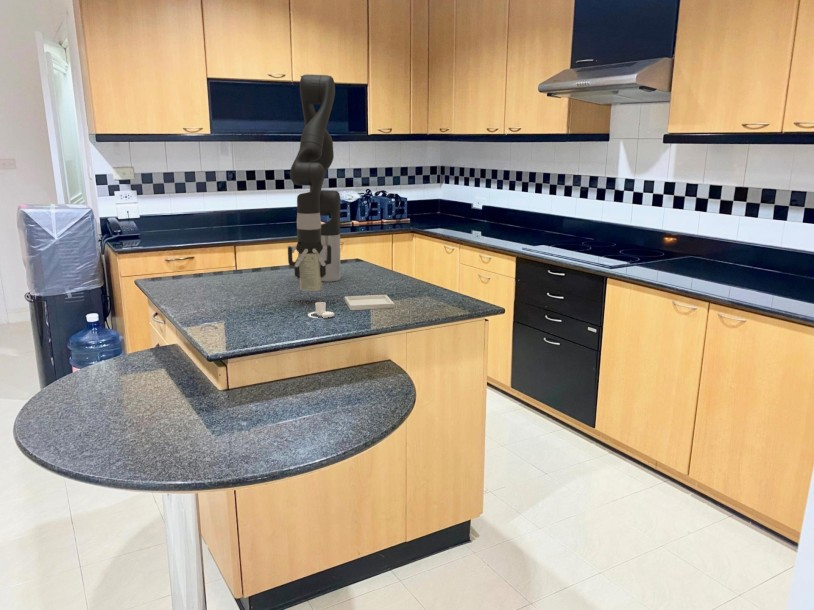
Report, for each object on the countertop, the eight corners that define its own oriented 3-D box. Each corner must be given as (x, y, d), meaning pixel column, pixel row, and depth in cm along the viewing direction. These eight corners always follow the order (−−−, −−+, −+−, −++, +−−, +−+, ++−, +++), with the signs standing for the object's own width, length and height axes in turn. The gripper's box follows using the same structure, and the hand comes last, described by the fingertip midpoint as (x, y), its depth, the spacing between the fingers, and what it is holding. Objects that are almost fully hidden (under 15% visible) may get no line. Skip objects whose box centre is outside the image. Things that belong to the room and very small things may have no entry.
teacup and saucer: (336, 319, 192) (336, 306, 191) (310, 321, 190) (309, 307, 189) (331, 312, 200) (331, 299, 199) (306, 313, 198) (305, 300, 197)
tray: (344, 300, 212) (344, 296, 211) (386, 299, 215) (386, 294, 215) (350, 310, 200) (350, 305, 200) (394, 308, 204) (394, 303, 203)
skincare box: (322, 288, 211) (321, 251, 207) (317, 291, 206) (316, 254, 203) (303, 287, 212) (302, 250, 209) (298, 290, 208) (297, 253, 205)
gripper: (329, 224, 209) (330, 274, 213) (285, 225, 206) (287, 275, 210) (333, 228, 202) (333, 279, 206) (286, 229, 199) (288, 281, 203)
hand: (310, 277), depth 208 cm, fingers closed on skincare box, 7 cm apart
